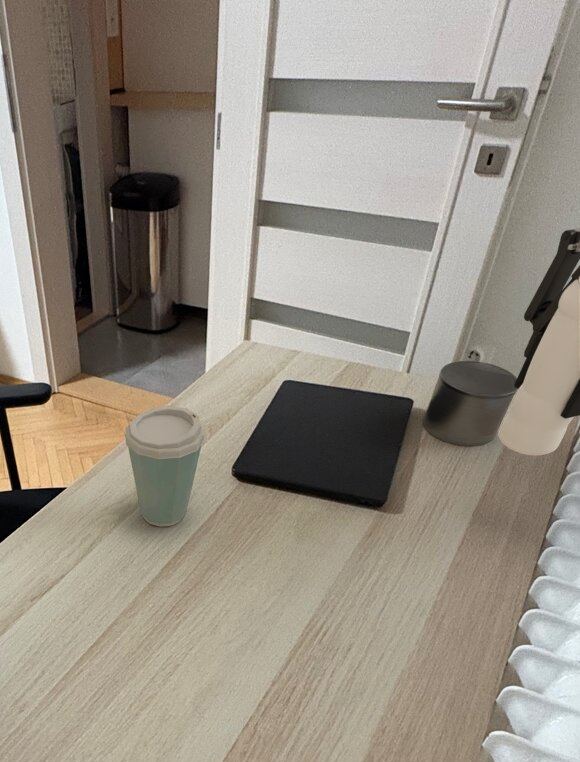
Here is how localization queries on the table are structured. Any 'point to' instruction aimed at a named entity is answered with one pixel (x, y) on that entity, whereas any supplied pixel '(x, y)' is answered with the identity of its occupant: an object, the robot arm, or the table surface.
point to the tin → (469, 402)
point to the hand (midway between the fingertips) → (547, 399)
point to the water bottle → (547, 383)
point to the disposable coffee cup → (164, 461)
